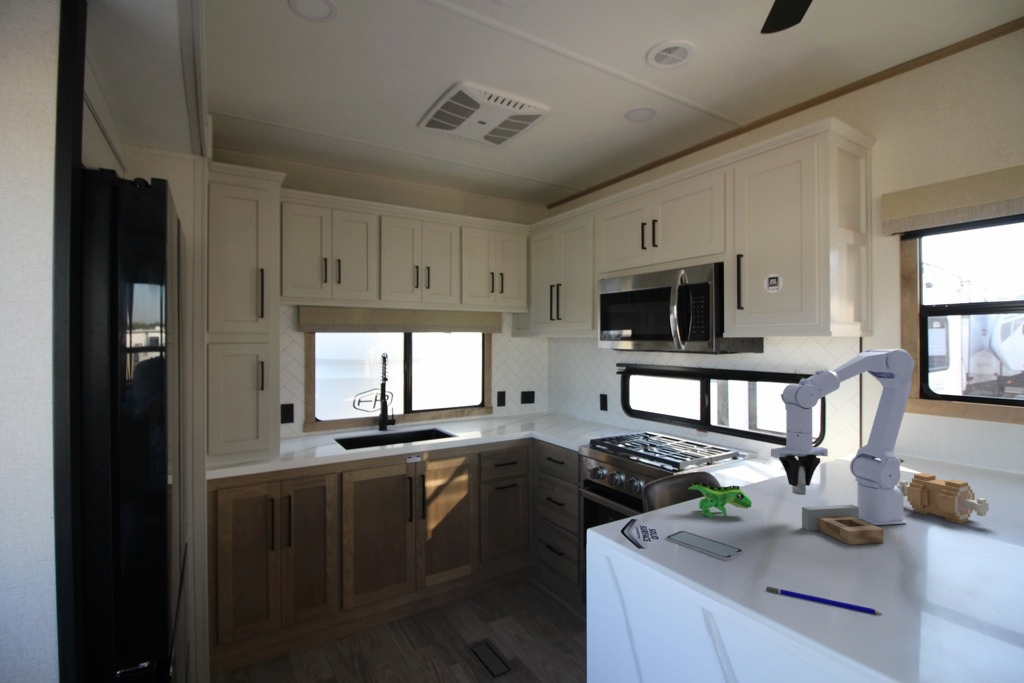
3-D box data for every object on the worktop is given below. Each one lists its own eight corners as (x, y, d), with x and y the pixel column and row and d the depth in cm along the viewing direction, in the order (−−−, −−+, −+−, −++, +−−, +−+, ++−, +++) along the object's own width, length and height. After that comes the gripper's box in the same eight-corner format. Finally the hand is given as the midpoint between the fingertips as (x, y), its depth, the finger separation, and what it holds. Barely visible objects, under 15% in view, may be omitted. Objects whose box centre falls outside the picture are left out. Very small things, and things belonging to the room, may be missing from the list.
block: (850, 527, 119) (850, 515, 119) (883, 542, 110) (883, 529, 110) (817, 529, 118) (817, 517, 118) (848, 544, 109) (848, 531, 109)
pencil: (766, 592, 88) (766, 587, 88) (766, 590, 89) (766, 585, 89) (882, 618, 80) (882, 612, 80) (881, 615, 81) (881, 609, 81)
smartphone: (682, 530, 116) (744, 550, 105) (682, 533, 116) (744, 554, 105) (664, 537, 112) (727, 558, 100) (664, 540, 112) (727, 563, 100)
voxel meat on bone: (912, 503, 139) (912, 468, 139) (994, 525, 122) (994, 485, 122) (890, 508, 135) (890, 471, 135) (973, 530, 118) (973, 489, 118)
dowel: (799, 491, 126) (799, 464, 126) (808, 494, 123) (808, 466, 123) (789, 491, 125) (789, 464, 125) (798, 495, 122) (798, 467, 122)
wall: (852, 524, 122) (852, 504, 122) (858, 527, 120) (858, 507, 120) (801, 527, 119) (802, 507, 119) (808, 530, 117) (808, 509, 117)
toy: (742, 531, 124) (757, 495, 124) (683, 506, 127) (697, 470, 127) (736, 523, 130) (751, 489, 130) (680, 498, 133) (693, 465, 132)
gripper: (812, 428, 129) (812, 479, 129) (762, 429, 127) (762, 481, 127) (834, 432, 122) (834, 487, 122) (781, 434, 120) (781, 489, 120)
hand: (799, 484), depth 124 cm, fingers closed on dowel, 3 cm apart
